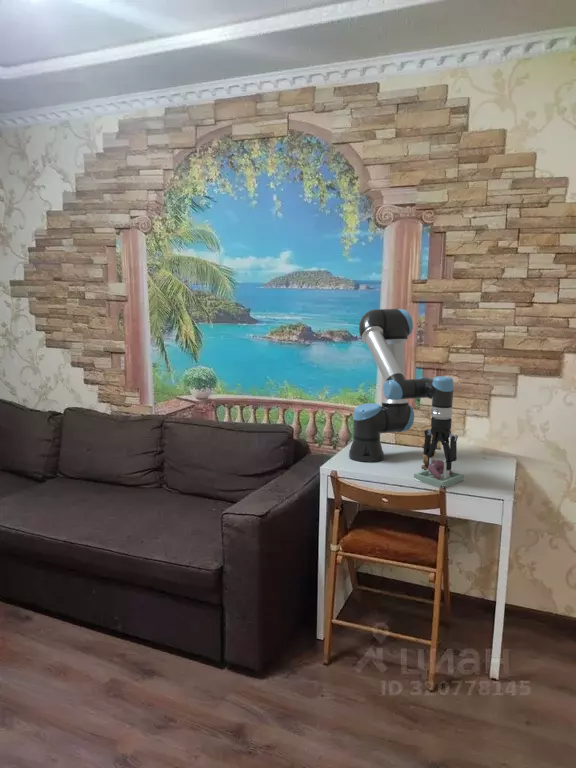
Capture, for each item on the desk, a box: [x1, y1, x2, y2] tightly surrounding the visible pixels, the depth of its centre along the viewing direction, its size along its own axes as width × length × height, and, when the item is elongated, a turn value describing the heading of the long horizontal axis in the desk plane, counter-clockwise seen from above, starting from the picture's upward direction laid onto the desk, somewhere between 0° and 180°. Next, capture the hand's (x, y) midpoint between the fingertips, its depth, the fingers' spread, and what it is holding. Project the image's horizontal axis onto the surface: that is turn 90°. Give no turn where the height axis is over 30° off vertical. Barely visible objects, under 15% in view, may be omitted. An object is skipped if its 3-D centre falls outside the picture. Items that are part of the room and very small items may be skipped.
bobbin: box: [421, 443, 438, 471], centre depth 236 cm, size 6×6×10 cm
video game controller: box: [428, 459, 453, 479], centre depth 223 cm, size 10×5×7 cm, turn 136°
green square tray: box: [413, 469, 465, 489], centre depth 223 cm, size 13×14×2 cm
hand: (438, 475), depth 223 cm, fingers closed on video game controller, 6 cm apart
